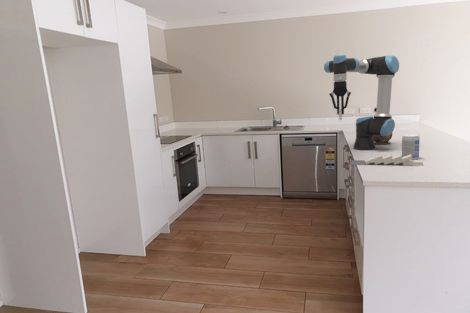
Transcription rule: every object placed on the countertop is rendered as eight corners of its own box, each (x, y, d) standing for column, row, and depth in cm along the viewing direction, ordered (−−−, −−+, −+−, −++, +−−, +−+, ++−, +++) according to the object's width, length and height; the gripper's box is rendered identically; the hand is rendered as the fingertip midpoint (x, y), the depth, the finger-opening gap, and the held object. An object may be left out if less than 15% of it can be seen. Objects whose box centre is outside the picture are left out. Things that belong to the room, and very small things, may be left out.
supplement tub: (418, 160, 207) (419, 136, 204) (401, 160, 211) (401, 136, 208) (419, 157, 215) (419, 134, 212) (402, 157, 219) (402, 134, 217)
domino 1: (365, 160, 209) (382, 154, 205) (366, 162, 210) (383, 157, 205) (364, 161, 205) (382, 156, 201) (366, 164, 205) (383, 158, 201)
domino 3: (383, 160, 206) (400, 154, 201) (384, 163, 206) (402, 157, 201) (383, 162, 201) (401, 156, 197) (384, 164, 201) (402, 158, 197)
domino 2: (374, 160, 208) (391, 154, 203) (375, 162, 208) (392, 157, 203) (374, 161, 203) (391, 156, 199) (375, 164, 203) (392, 158, 199)
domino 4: (393, 160, 203) (410, 154, 199) (394, 163, 204) (412, 157, 199) (393, 162, 199) (411, 156, 195) (394, 164, 199) (412, 158, 195)
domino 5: (402, 160, 202) (422, 160, 198) (402, 163, 202) (421, 163, 198) (403, 162, 197) (422, 162, 193) (402, 165, 197) (422, 165, 193)
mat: (351, 160, 219) (351, 160, 219) (411, 161, 206) (411, 161, 206) (349, 165, 207) (349, 164, 207) (412, 166, 194) (412, 165, 194)
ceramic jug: (366, 143, 275) (366, 105, 269) (382, 141, 279) (383, 103, 273) (381, 146, 259) (381, 106, 253) (398, 144, 263) (399, 104, 257)
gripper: (328, 82, 210) (328, 120, 215) (350, 80, 205) (351, 120, 210) (329, 81, 217) (330, 119, 221) (351, 80, 212) (352, 118, 216)
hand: (340, 119), depth 216 cm, fingers closed
